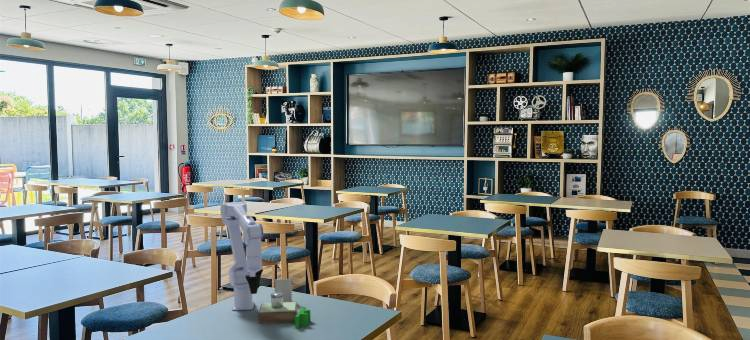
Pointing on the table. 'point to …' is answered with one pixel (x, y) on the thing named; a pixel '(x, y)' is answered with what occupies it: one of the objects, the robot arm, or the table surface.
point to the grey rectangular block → (284, 288)
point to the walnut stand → (277, 313)
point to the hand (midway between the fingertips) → (255, 290)
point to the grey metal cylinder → (277, 300)
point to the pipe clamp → (302, 317)
